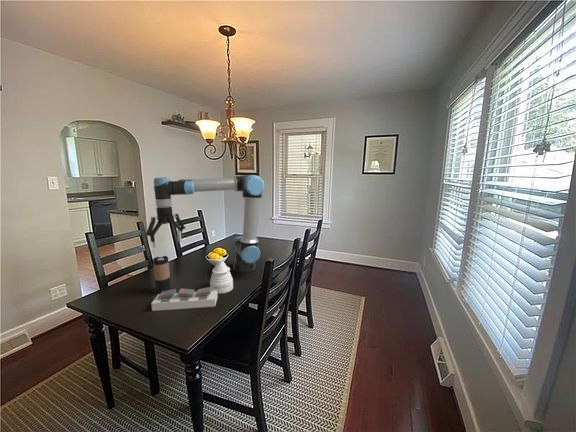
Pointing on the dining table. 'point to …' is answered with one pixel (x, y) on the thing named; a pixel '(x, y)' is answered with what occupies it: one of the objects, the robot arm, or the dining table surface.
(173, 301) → the power strip
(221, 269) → the honey pot
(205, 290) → the rocker
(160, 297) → the rocker
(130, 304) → the dining table surface
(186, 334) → the dining table surface
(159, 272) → the travel mug
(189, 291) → the rocker mid
